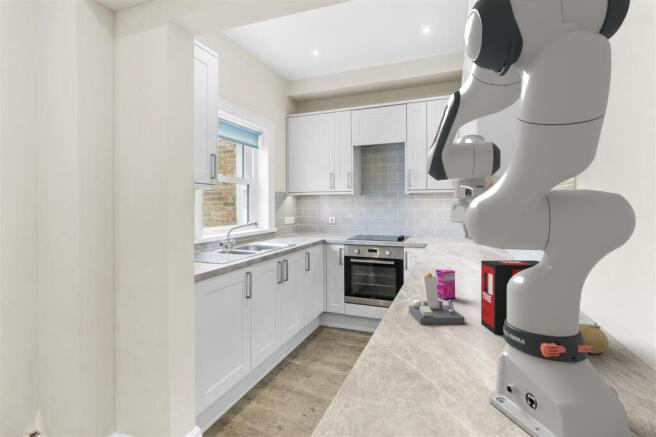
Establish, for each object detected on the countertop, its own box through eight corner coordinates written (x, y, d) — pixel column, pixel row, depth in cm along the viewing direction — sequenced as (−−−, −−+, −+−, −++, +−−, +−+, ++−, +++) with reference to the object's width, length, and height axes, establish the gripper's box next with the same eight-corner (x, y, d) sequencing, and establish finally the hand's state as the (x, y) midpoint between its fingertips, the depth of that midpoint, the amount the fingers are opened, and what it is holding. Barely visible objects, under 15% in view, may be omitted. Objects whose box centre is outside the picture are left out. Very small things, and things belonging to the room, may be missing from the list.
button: (422, 307, 110) (422, 301, 110) (414, 307, 110) (414, 302, 110) (420, 305, 113) (420, 299, 113) (412, 305, 113) (412, 299, 113)
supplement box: (434, 296, 133) (434, 269, 133) (446, 295, 135) (446, 268, 135) (443, 300, 128) (443, 271, 128) (455, 298, 129) (455, 270, 129)
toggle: (455, 313, 103) (453, 299, 105) (450, 313, 103) (448, 299, 105) (454, 313, 104) (452, 300, 106) (449, 313, 104) (446, 300, 106)
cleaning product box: (534, 324, 100) (535, 260, 99) (554, 335, 91) (554, 265, 91) (481, 324, 100) (481, 260, 100) (495, 334, 91) (495, 265, 91)
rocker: (432, 315, 101) (432, 311, 101) (423, 316, 101) (423, 312, 101) (427, 310, 105) (428, 306, 105) (419, 310, 105) (419, 306, 105)
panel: (464, 323, 101) (464, 308, 101) (420, 324, 100) (420, 309, 100) (447, 310, 114) (447, 297, 114) (408, 311, 113) (408, 298, 113)
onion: (589, 359, 76) (590, 329, 76) (559, 345, 84) (559, 318, 84) (616, 356, 78) (617, 327, 78) (584, 343, 86) (585, 316, 85)
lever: (440, 308, 108) (435, 271, 112) (428, 308, 107) (423, 272, 112) (437, 309, 110) (432, 273, 114) (426, 309, 110) (421, 273, 114)
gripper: (445, 194, 105) (445, 236, 105) (476, 189, 84) (476, 242, 85) (464, 194, 105) (464, 236, 105) (499, 189, 84) (499, 242, 85)
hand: (469, 239), depth 95 cm, fingers closed
